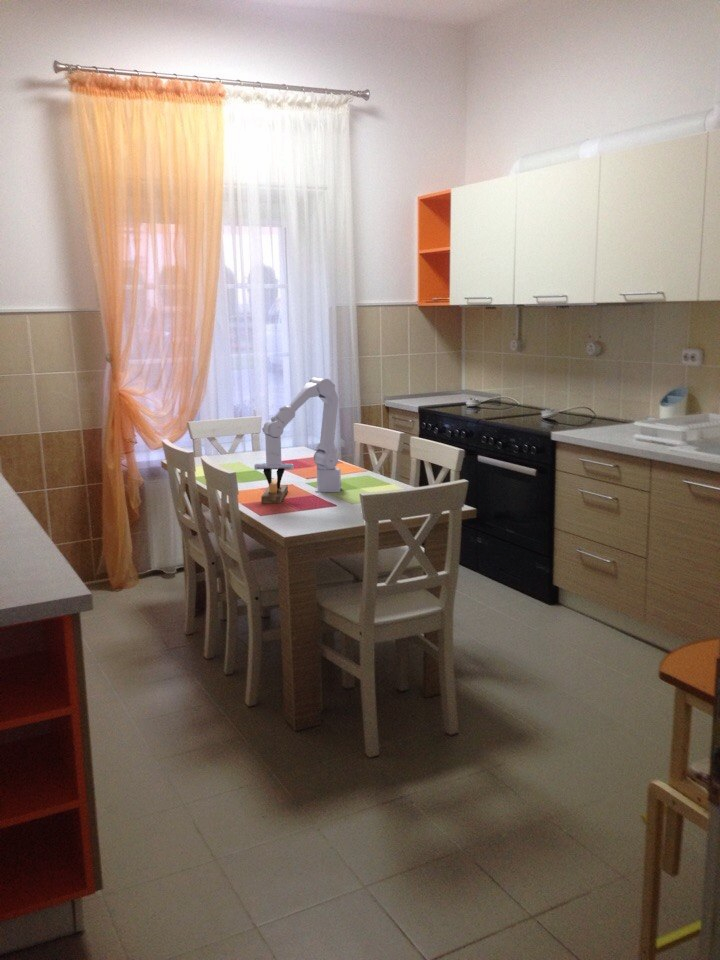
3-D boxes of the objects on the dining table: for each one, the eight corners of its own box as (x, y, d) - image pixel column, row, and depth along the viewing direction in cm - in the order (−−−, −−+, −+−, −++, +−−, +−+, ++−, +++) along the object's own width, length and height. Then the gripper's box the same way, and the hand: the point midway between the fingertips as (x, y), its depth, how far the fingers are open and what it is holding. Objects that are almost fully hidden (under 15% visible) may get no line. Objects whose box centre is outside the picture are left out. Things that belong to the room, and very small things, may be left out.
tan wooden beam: (280, 493, 319) (279, 478, 317) (276, 500, 309) (275, 484, 308) (273, 493, 319) (273, 478, 318) (269, 500, 309) (269, 484, 308)
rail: (287, 490, 324) (287, 484, 323) (280, 503, 304) (280, 496, 303) (269, 490, 324) (269, 484, 323) (261, 503, 304) (261, 496, 304)
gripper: (252, 454, 307) (253, 490, 310) (291, 454, 306) (292, 490, 309) (255, 451, 314) (257, 486, 317) (293, 451, 313) (294, 486, 316)
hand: (274, 488), depth 313 cm, fingers closed on tan wooden beam, 2 cm apart
